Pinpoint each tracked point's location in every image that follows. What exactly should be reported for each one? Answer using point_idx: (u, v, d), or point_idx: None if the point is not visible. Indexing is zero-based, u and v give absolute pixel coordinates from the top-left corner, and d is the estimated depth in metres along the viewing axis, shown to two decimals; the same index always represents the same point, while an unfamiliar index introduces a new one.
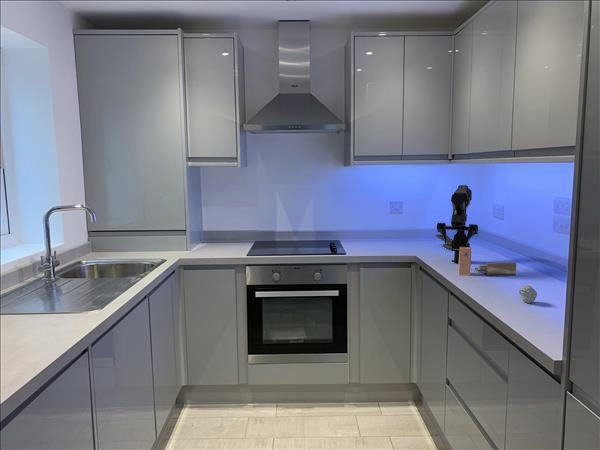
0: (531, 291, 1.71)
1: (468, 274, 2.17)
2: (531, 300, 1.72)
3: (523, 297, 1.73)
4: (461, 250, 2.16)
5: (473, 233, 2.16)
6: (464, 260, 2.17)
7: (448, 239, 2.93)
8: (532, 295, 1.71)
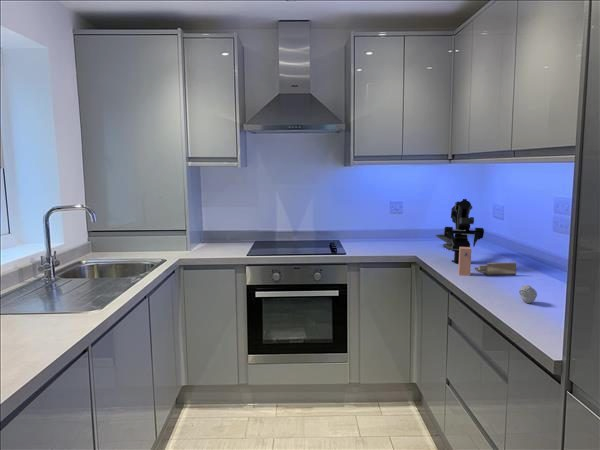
0: (531, 291, 1.71)
1: (468, 274, 2.17)
2: (531, 300, 1.72)
3: (523, 297, 1.73)
4: (461, 250, 2.16)
5: (479, 236, 2.27)
6: (464, 260, 2.17)
7: (448, 239, 2.93)
8: (532, 295, 1.71)
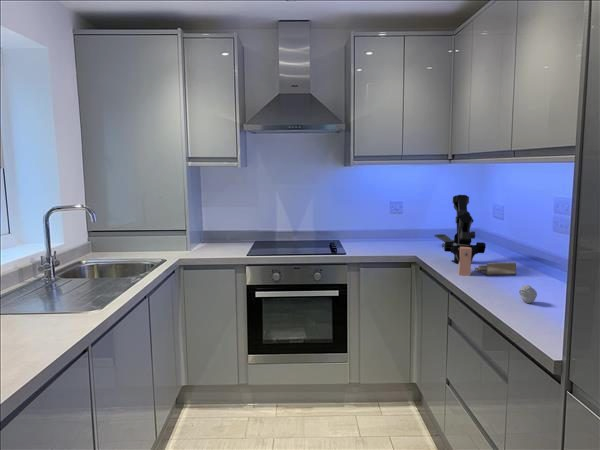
0: (531, 291, 1.71)
1: (468, 274, 2.17)
2: (531, 300, 1.72)
3: (523, 297, 1.73)
4: (461, 250, 2.16)
5: (476, 251, 2.20)
6: (464, 260, 2.17)
7: (447, 239, 2.94)
8: (532, 295, 1.71)
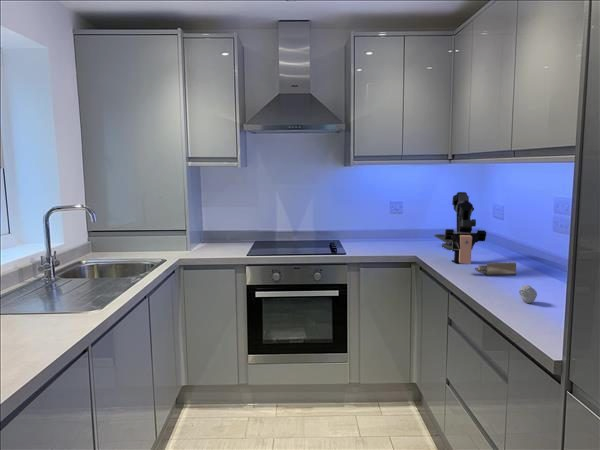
0: (531, 291, 1.71)
1: (469, 262, 2.16)
2: (531, 300, 1.72)
3: (523, 297, 1.73)
4: (462, 238, 2.16)
5: (477, 239, 2.20)
6: (465, 248, 2.16)
7: None
8: (532, 295, 1.71)
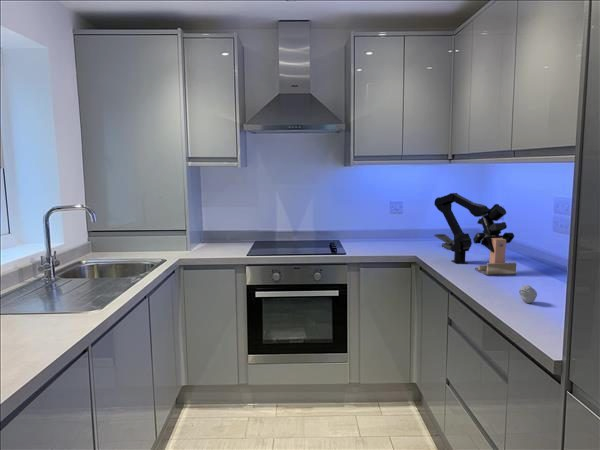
0: (531, 291, 1.71)
1: None
2: (531, 300, 1.72)
3: (523, 297, 1.73)
4: (497, 241, 2.17)
5: None
6: (499, 251, 2.18)
7: (447, 239, 2.95)
8: (532, 295, 1.71)
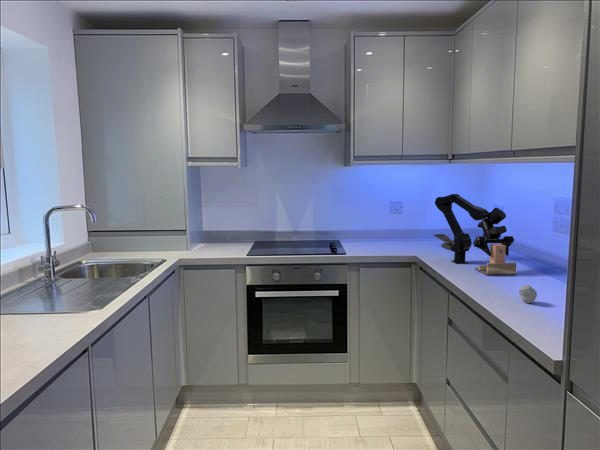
0: (531, 291, 1.71)
1: None
2: (531, 300, 1.72)
3: (523, 297, 1.73)
4: (496, 247, 2.17)
5: (508, 245, 2.24)
6: (499, 257, 2.18)
7: (446, 238, 2.95)
8: (532, 295, 1.71)
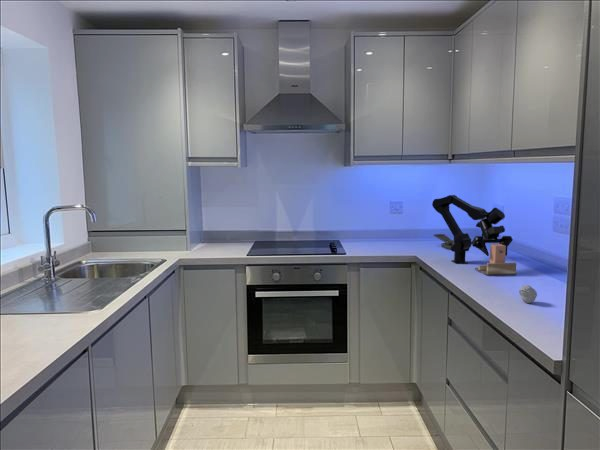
0: (531, 291, 1.71)
1: None
2: (531, 300, 1.72)
3: (523, 297, 1.73)
4: (496, 248, 2.17)
5: None
6: (499, 257, 2.18)
7: (446, 238, 2.95)
8: (532, 295, 1.71)
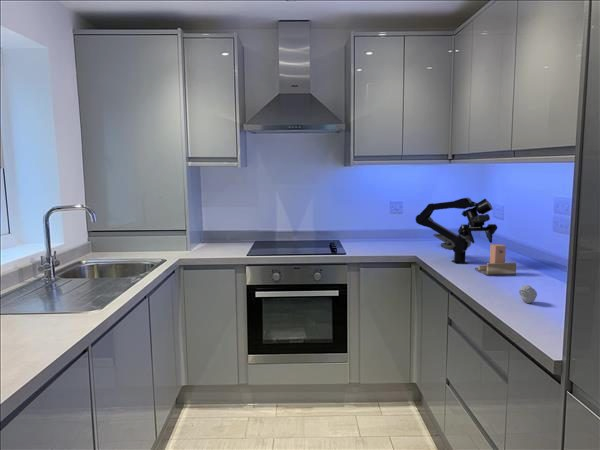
0: (531, 291, 1.71)
1: None
2: (531, 300, 1.72)
3: (523, 297, 1.73)
4: (496, 248, 2.17)
5: None
6: (499, 257, 2.18)
7: (446, 238, 2.96)
8: (532, 295, 1.71)
